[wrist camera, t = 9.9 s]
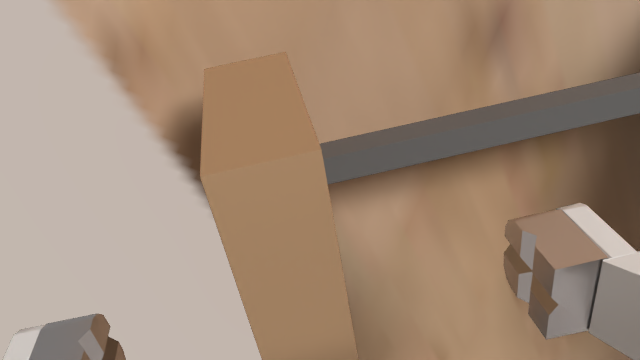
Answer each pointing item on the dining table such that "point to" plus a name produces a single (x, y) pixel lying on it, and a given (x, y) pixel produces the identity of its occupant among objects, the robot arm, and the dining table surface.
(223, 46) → the dining table surface
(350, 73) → the dining table surface
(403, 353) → the dining table surface
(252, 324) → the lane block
